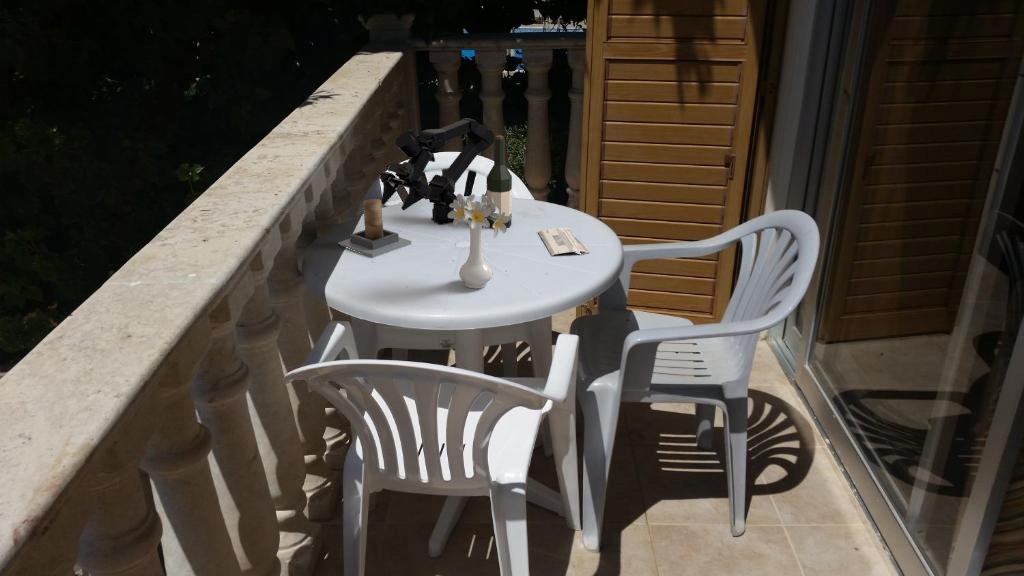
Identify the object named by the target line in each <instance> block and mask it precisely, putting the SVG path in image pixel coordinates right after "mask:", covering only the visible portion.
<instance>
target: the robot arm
mask: <svg viewBox="0 0 1024 576" xmlns="http://www.w3.org/2000/svg"><path fill="white" fill-rule="evenodd" d="M464 135H465V136H466V145H465V146H464V147H463V149H462V150H461V151H460V153H459V154H458V156H457V157H456V158H455V159H454V160H453V162H452V163H451V164H450V166H449V167H448V168H447V169H446V171H445V172H444V173H443V174H442V175H440V174H435V175H433V176H432V179H431V180H430V181H427V182H428V184H427V183H426V181H424V180H421V179H420V178H421V177H422V178H424V176H425V175H426V174H425V173H424V171H425V169H426V167H427V165H428V164H429V162H431V163H432V162H433V163H435V162H436V158H435V153H434V152H430V150H431V151H435V152H437V151H440V150H441V149H443V148H444V147H446V145H447V143H448V142H450V141H451V140H454V139H457V138H459V137H461V136H464ZM494 139H495V135H494V132H493V131H492V130H491V129H489V128H487V127H485V126H484V125H482V124H480V123H479V122H478V121H477V120H475V119H472V118H467V117H465V118H462V119H460V120H458V121H456V122H453V123H451V124H449V125H446V126H444V127H441V128H435V129H434V128H433V129H431V128H430V129H425V130H421V132H420V133H419V134H417V135H416V134H415V132H414V131H413V130H412V129H406V131H405V132H402V133H400V134H399V135H398V136H397V137H396V138H395V142H394V143H395V146H396V147H397V148H398V150H400V151H401V152H402V153H403V155H404V156H406V157H407V158H409V159H408V161H404V162H403V163H400V162H397V161H393V160H391V161H389V165H388V169H387V171H382V172H381V173H380V175H379V176H378V178H379V179H380V182H381V183H382V185H383V190H382V195H381V203H382V205H385V204H386V203H387V202H389V200H390V199H391V198H392V196H393V195H395V193H396V192H397V191H398V190H397V188H399V186H401V187H405V188H408V194H407V196H406V198H405V200H404V202H403V203H402V206H401V210H402V211H406V210H407V209H408V208H410V207H412V206H413V205H414V204H417V203H418V202H419V201H421V200H424V199H426V198H428V201H429V203H430V204H431V203H432V206H433V207H432V209H431V211H432V217H431V219H430V220H431V221H432V222H434V223H437V224H438V225H446V224H451V223H452V224H453V221H454V220H455V219H456V218H448V213H450V212H451V211H455V208H451V207H450V206H449V205H450V204H452V203H453V202H454V200H457V194H455V192H456V191H455V190H456V183H458V181H459V180H460V178H461V177H462V175H463V174H464V173H465V172H466V171H467V169H468V168H469V166H470V165H471V164H472V163H473V161H474V160H475V158H477V156H478V155H479V154H480V153H484V152H485V151H487V150H488V149H489V148H490V147H491V146H492V145H493V144H494ZM394 173H395V174H394ZM397 177H398V178H397Z"/></svg>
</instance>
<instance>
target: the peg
mask: <svg viewBox="0 0 1024 576" xmlns="http://www.w3.org/2000/svg"><path fill="white" fill-rule="evenodd" d="M381 201H382V199H378V198H367V199H365V200H363V201H362V205H363V206H362V207H363V218H364V221H363V222H364V230H365V236H366V239H369V240H373V241H374V240H377V239H380V238H383V237H384V236H383V229H384V223H383V221H384V220H383V206H382V205H383V204H382V203H381Z"/></svg>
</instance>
